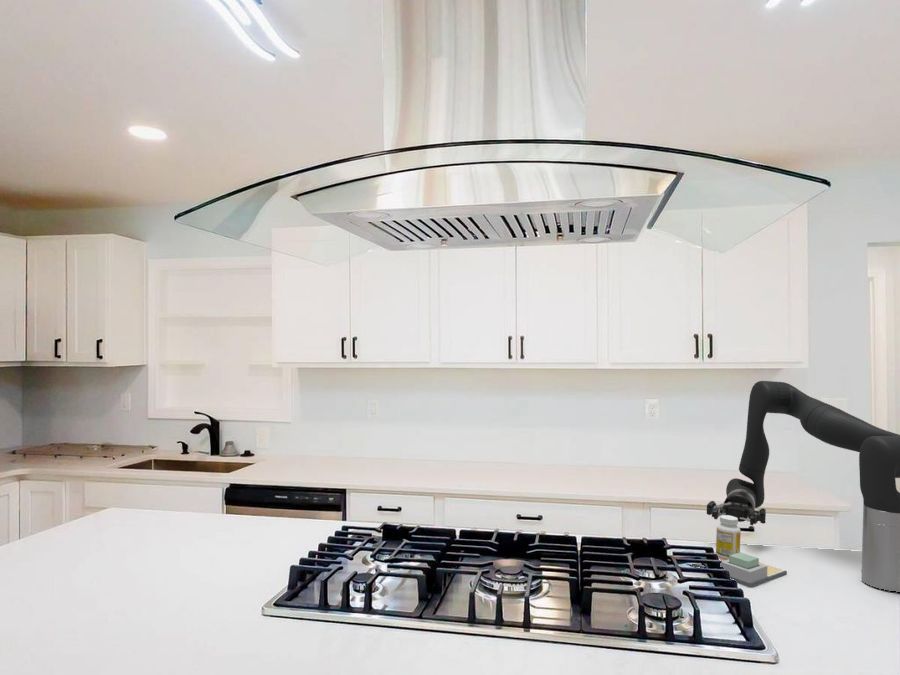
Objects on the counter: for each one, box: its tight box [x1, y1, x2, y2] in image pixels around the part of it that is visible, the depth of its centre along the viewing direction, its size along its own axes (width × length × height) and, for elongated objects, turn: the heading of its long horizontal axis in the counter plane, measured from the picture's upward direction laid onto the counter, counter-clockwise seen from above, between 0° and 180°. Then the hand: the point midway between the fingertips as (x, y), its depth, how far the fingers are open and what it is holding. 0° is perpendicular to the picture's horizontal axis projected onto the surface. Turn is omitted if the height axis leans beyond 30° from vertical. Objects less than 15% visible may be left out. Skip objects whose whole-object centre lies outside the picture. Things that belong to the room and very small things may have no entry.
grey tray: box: [691, 551, 788, 588], centre depth 144 cm, size 16×15×3 cm
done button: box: [729, 551, 760, 570], centre depth 139 cm, size 4×4×2 cm
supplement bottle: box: [715, 515, 742, 560], centre depth 150 cm, size 5×5×10 cm
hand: (733, 518), depth 159 cm, fingers open, 8 cm apart
